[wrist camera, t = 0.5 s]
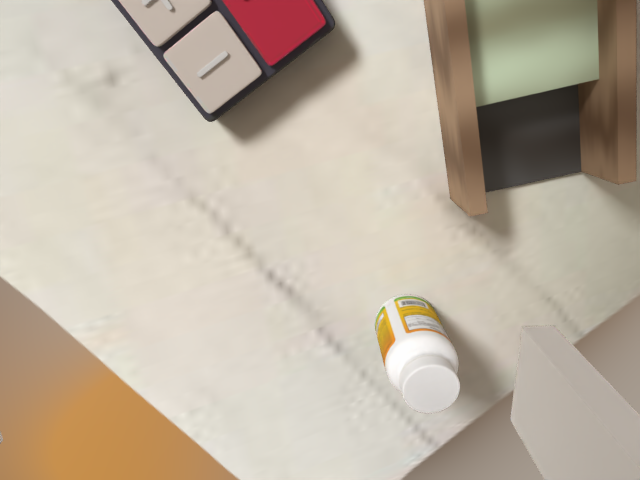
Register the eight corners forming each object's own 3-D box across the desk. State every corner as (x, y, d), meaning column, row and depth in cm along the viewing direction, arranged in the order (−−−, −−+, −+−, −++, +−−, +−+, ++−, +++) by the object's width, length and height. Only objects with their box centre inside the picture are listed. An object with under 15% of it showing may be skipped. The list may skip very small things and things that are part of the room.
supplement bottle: (395, 357, 42) (419, 435, 33) (361, 314, 41) (376, 383, 32) (447, 325, 41) (485, 397, 32) (414, 280, 40) (445, 342, 31)
